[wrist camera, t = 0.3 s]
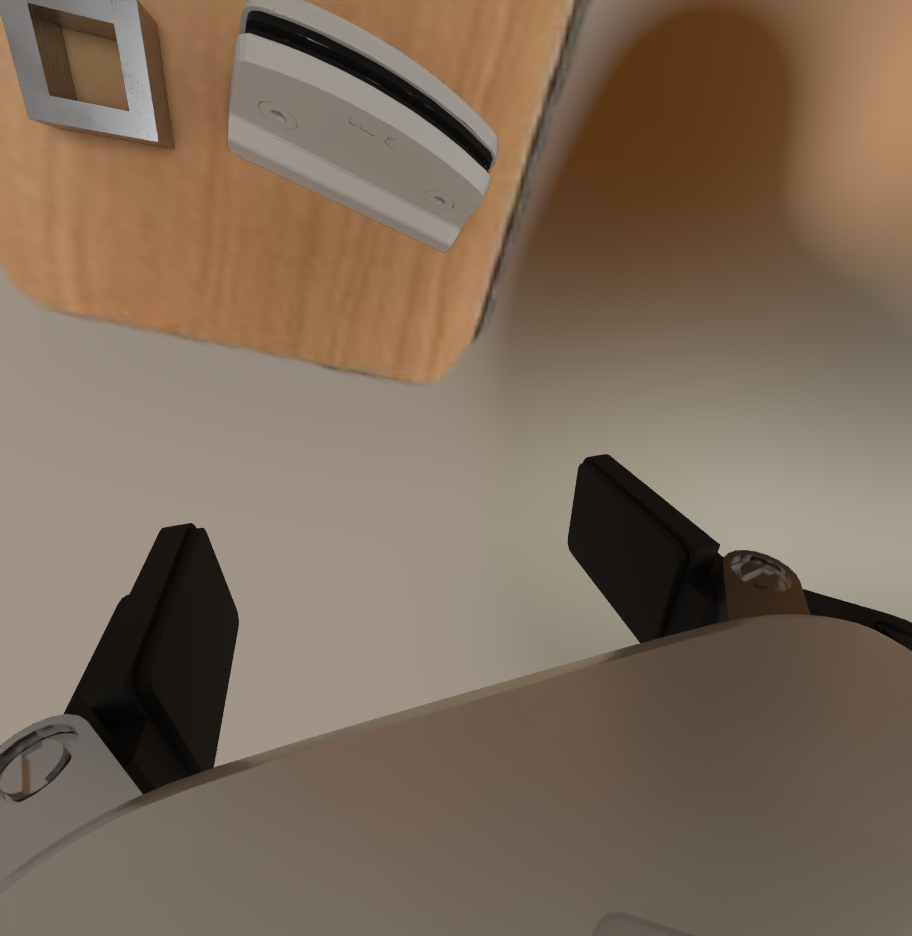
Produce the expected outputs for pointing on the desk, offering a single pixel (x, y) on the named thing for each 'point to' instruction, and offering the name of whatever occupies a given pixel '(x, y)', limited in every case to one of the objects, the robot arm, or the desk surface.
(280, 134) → the grey slotted holder
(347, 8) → the desk surface
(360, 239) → the desk surface
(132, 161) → the desk surface
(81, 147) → the desk surface
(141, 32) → the grey square hollow block
